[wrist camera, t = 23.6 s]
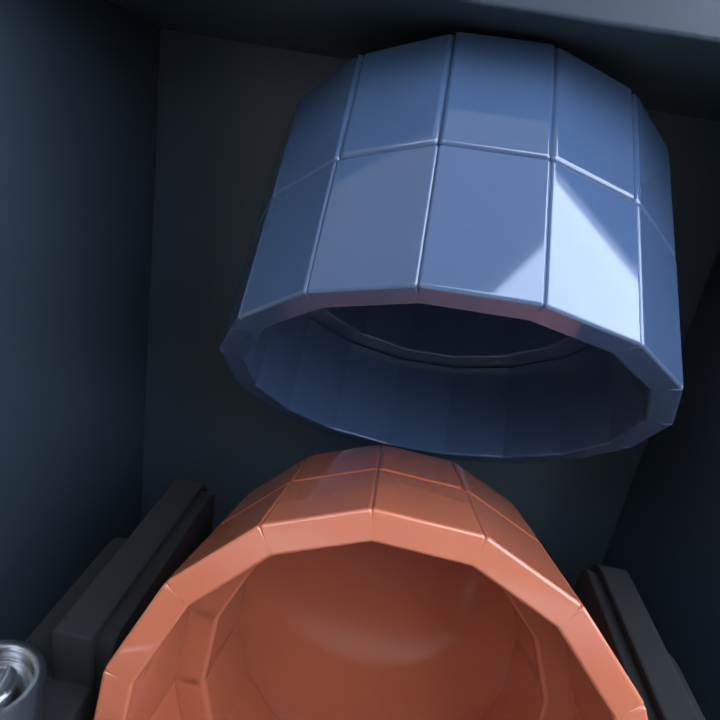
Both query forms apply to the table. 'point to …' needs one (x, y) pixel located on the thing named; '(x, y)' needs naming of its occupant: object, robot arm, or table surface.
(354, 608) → the terracotta flower pot
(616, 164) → the faceted blue pot
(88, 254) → the tub
